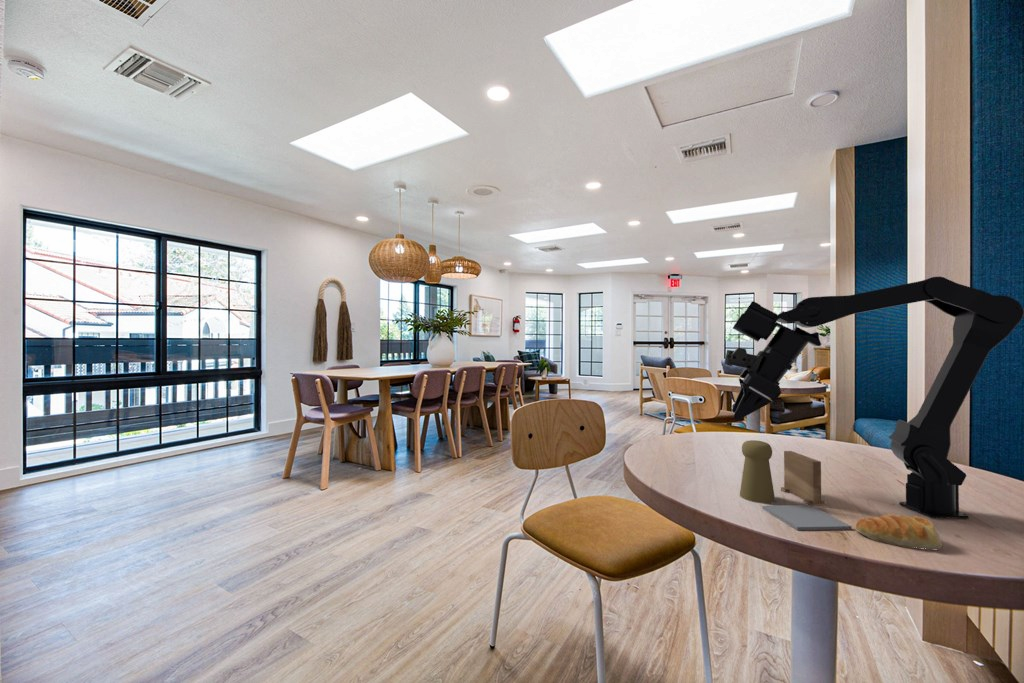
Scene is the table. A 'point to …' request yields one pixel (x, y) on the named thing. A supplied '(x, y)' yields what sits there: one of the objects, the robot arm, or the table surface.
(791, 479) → the screen
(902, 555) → the table surface
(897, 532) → the pastry
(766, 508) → the coaster
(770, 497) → the olive peg figure
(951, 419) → the robot arm
